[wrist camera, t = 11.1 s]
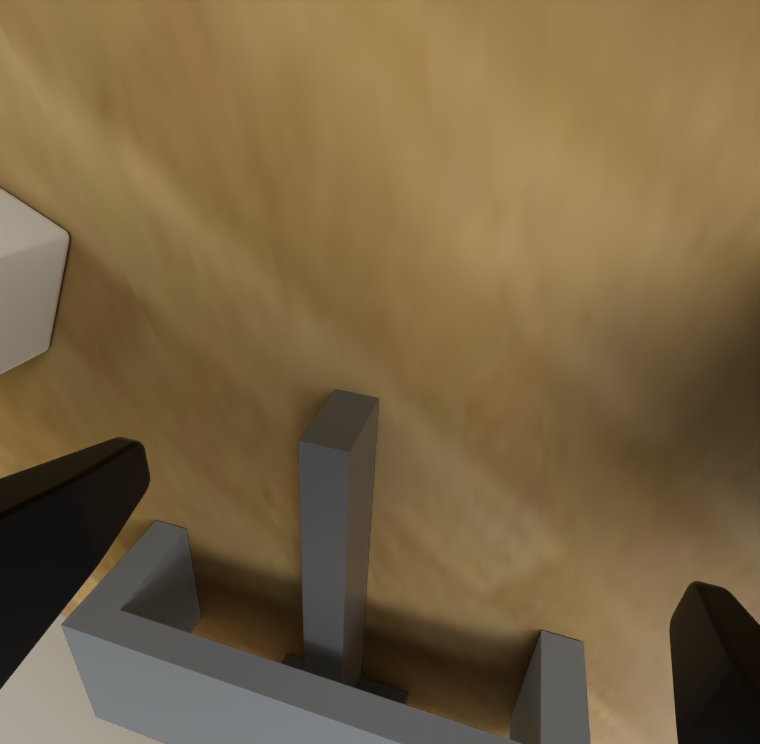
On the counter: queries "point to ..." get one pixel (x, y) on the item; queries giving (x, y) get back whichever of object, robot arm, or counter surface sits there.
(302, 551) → the grey t-shaped bar
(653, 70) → the counter surface
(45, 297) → the medicine bottle
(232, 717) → the grey step stool
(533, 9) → the counter surface
